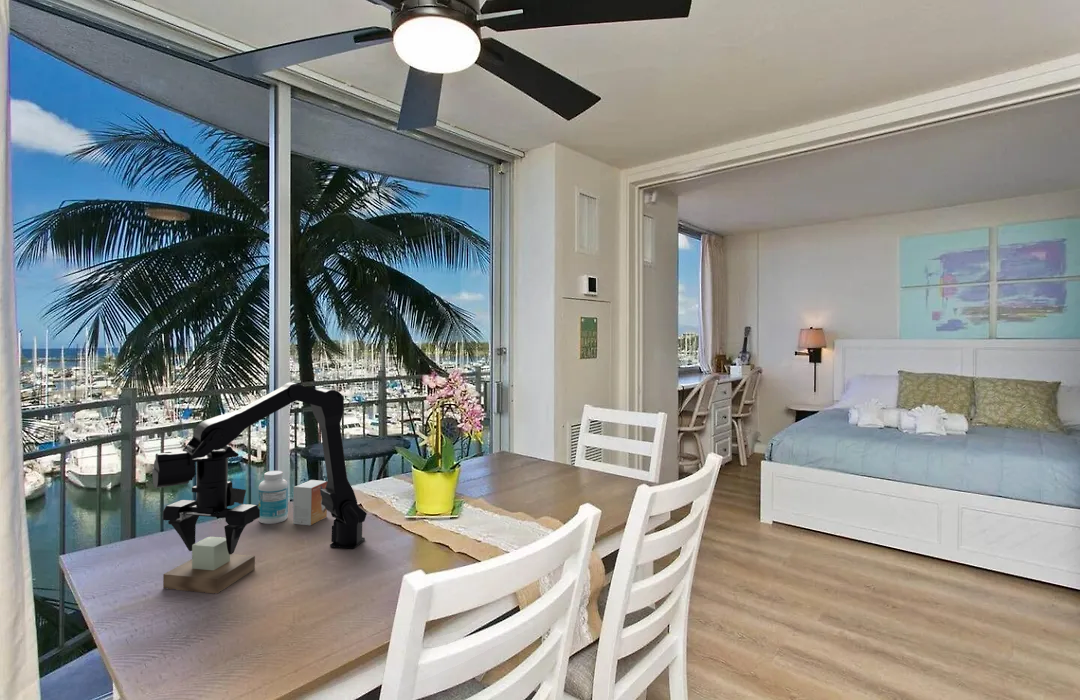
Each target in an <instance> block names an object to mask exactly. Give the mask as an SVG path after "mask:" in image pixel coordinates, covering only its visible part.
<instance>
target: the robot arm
mask: <svg viewBox="0 0 1080 700" xmlns="http://www.w3.org/2000/svg"><path fill="white" fill-rule="evenodd" d="M344 400H345V398H344V395H343V394H342V393H341V392H339V391H337V390H335V389H330V388H325V387H319V388H316V389H315V388H311V387H307V386H303V385H302V384H299V383H297V382H293V381H292V382H290V381H289V382H286V383H285V384H283V385H282V386H281V387H278V388H277V389H275V390H273V391H271V392H269V393H268V394H265V395H264V396H262V397H259V398H258V399H256V400H254V401H252V402H251V403H248V404H246V405H244V406H243V407H241V408H239V409H237V410H235V411H232V412H228V413H225V414H219V415H216V416H213V417H211V418H208V419H205V420H203V421H201V422H199V423H198V424H197V425H196V426H195V428H194V434H193V436H192V437H191V439H190V440H189V442H188V443H187V444H186V445H185V446H184V447H183V449H182V451H176V452H158V453H156V454H155V459H154V462H153V467H152V468H151V470H152V483H153V486H154V487H153V488H155V489H161V488H166V487H174V486H180V485H186V484H189V483H190V481H193V479H194V478H196V479H195V480H196V481H195V484H196V485H194V486H192V487H191V493H196V495H195V496H196V497H195V500H191V499H190V500H189V499H181V500H178V501H175V502H174V503H170V504H168V505H166V506H165V507H164V509H163V510H162V521H168V522H167V523H168V525H171V526H172V527H173V529H174V530H175V531H176V532H177V534H178V536H179V537H180V539H181V540H182V541H183V544H185V546H186V548H187V549H188V551H189V552H192V545H193V544H195V543H196V530H197V529H196V526H197V522H198V519H199V517H210V518H222V519H225V520H224V521H225V522H226V525H225V526H223V527H224V533H225V538H226V543H227V550H228V553H229V554H230V555H231V554H235V550H236V547H237V545H238V543H239V540H240V538H241V536H242V534H243V531H244V529H245V528H246V526H247V525H249V524H252V523H253V522H254V521H256V520H258V518H259V517H260V509H259V505H257V504H248V503H246V504H245V503H244V501H245V498H246V497H245V496H246V492H247V489H243V488H233V483H232V481H230V480H229V481H228V470H229V468H228V466H229V465H228V462H229V461H228V459H230V458H231V459H232V458H237V457H239V453H238V452H236V451H235V450H233V448H232V446H230V445H229V444H231V443H232V442H233V441H235V440H237V438H238V437H239V436H240V435H241V434H242V433H243V432H244V431H245V430H246V429H248V428H249V427H250V426H252V425H254V424H256V423H258V422H260V421H261V420H263V419H265V418H266V417H268V416H271V415H272V414H274V413H276V412H277V411H279V410H281V409H283V408H285V407H286V406H288V405H289V406H290V405H291V404H292V403H294V402H301V403H306V404H308V405H310V408H311V410H312V413H313V416H314V419H316V421H317V423H318V425H319V427H320V428H319V429H320V434H321V436H320V437H321V442H322V448H323V456H324V463H325V464H324V465H325V470H326V478H327V480H326V481H327V485H326V488H325V489H320V493H321V496H322V503H321V504H322V505H323V506H325V508H326V510H327V512H329V513H330V514H331V517H332V518H335V519H333V524H332V525H331V538H330V539H331V543H330V544H329V547H330V548H340V549H341V548H342V549H356V548H357V547H358V546H359V545H360V544H362V543H363V542H364V541H365V540H366V538H365V537H363V523H364V522H365V520H366V517H367V515H368V514H367V512H366V511H365V510H364V509H362V508H361V507H360V506H359V505H358V499H357V497H356V494H355V490H354V489H353V487H352V485H351V483H350V482H349V479H348V474H347V473H348V472H347V468H346V467H347V466H346V460H345V459H346V458H345V453H344V445H343V438H342V436H343V435H342V429H341V422H342V419H343V416H344V408H345V407H344V406H345V401H344ZM195 476H196V477H195ZM235 503H237V504H239V505H237V506H235ZM231 506H232V508H228V507H231ZM233 506H235V507H233Z"/></svg>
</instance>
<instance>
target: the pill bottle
mask: <svg viewBox="0 0 1080 700" xmlns="http://www.w3.org/2000/svg"><path fill="white" fill-rule="evenodd" d="M283 473H284V472H283V471H282V470H269V471H267V472H265V473H263V474H264V475H263V478H264V479H263V480H262V481H261V482H259V485H258V507H259V509H260V517H259V518H257V520H258V521H259V523H261V524H264V525H274V524H279V523H282V522H284V521H286V520H287V519H288V514H289V513H288V511H289V509H288V505H289V502H288V501H289V484H288V481H287V480H286V479H284V478H283V476H284V474H283Z"/></svg>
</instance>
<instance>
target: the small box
mask: <svg viewBox="0 0 1080 700" xmlns="http://www.w3.org/2000/svg"><path fill="white" fill-rule="evenodd" d="M327 481H328V480H316V479H309V480H308V481H306V482H303V483H300V484H298V485H295V486H293V501H292V502H293V503H292V504H293V507H292V508H293V509H292V510H293V511H292V513H293V514H292V515H293V517H292V518H293V519H292V524H293V525H301V526H312V525H314V524H316V523H318V522H320V521H321V520H324V519H326V518H327V517H328V516H327V514H328V513H327V512H328V510H326V508H325V506H323V505H322V504H321V503H322V496H321V493H320V489H325V488H326V485H327Z"/></svg>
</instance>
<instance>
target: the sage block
mask: <svg viewBox="0 0 1080 700" xmlns="http://www.w3.org/2000/svg"><path fill="white" fill-rule="evenodd" d="M191 559H192V569H203V570H215V569H217V568H219V567H220V566H222V565H224V564H226V563H227V562H229V561H230V554H229V553H228V550H227V543H226V537H223V536H222V537H220V536H210V535H209V536H207V537H205V538H204V539H201V540H199V541H197V542H195V544H193V545H192V551H191Z"/></svg>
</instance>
